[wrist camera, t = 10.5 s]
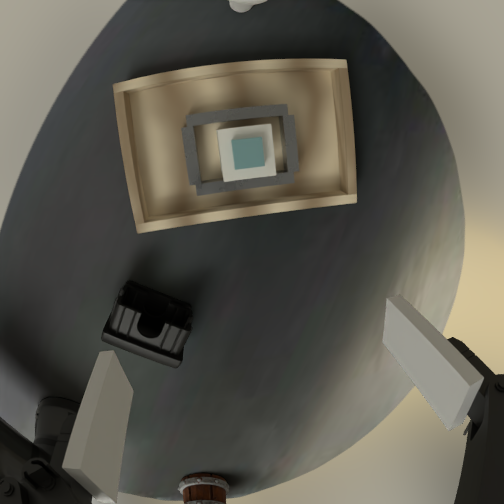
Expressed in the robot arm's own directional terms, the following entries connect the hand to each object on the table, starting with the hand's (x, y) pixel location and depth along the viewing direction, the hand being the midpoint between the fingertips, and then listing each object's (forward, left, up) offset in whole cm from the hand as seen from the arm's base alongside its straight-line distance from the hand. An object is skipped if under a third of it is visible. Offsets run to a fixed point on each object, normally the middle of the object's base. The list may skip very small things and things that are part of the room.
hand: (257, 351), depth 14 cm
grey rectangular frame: (+2, +7, -24) cm, 25 cm away
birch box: (+2, +8, -24) cm, 26 cm away
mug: (-16, -62, -24) cm, 68 cm away
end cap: (-12, -12, -24) cm, 29 cm away
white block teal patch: (+2, +7, -23) cm, 24 cm away
